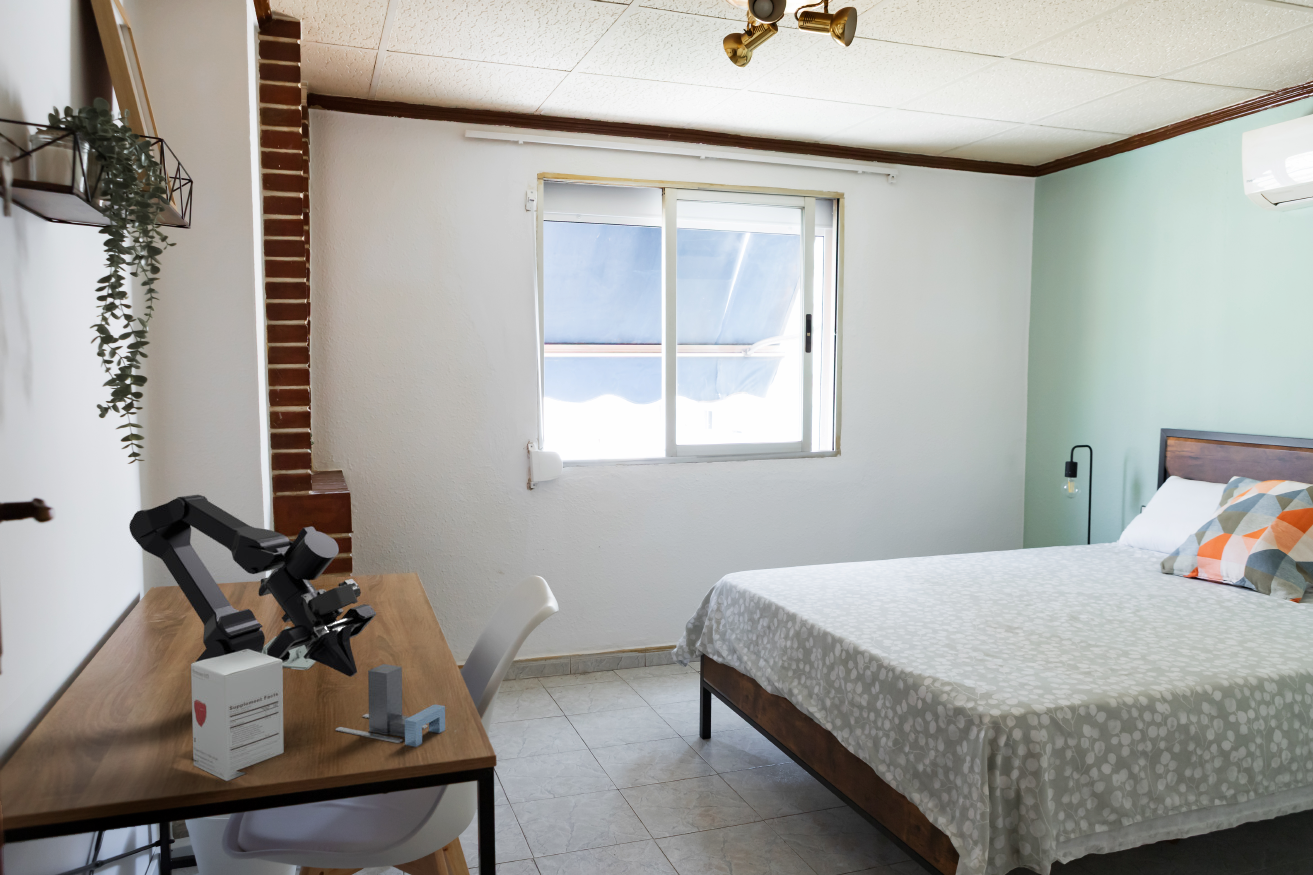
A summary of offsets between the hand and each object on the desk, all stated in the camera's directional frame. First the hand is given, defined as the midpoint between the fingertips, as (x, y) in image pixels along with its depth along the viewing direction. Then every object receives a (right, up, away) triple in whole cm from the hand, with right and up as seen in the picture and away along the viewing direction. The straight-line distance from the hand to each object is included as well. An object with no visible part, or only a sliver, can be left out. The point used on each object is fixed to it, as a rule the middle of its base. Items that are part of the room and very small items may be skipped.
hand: (354, 674), depth 138 cm
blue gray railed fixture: (+6, -9, -2) cm, 11 cm away
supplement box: (-12, -10, -12) cm, 20 cm away
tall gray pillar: (+7, -8, -3) cm, 11 cm away
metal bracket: (-25, -7, +38) cm, 46 cm away
